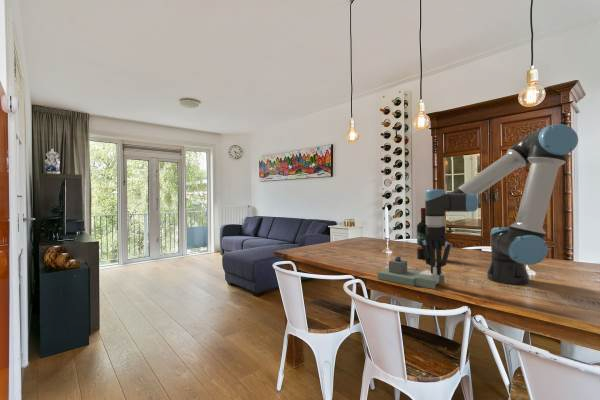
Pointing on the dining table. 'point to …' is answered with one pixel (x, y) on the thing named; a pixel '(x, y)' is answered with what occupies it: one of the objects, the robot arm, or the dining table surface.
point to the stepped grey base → (406, 275)
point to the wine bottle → (421, 235)
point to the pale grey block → (426, 275)
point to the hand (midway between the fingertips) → (436, 281)
